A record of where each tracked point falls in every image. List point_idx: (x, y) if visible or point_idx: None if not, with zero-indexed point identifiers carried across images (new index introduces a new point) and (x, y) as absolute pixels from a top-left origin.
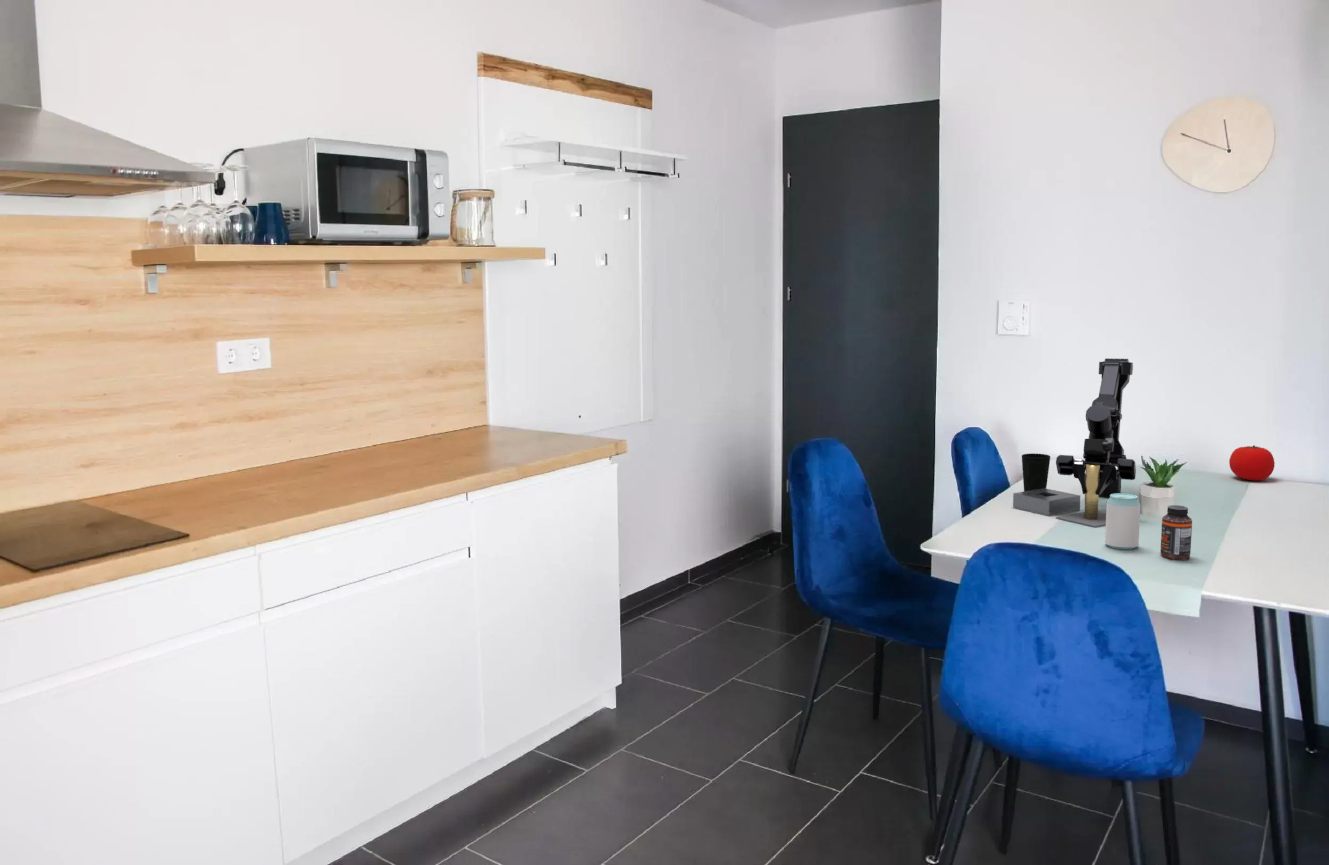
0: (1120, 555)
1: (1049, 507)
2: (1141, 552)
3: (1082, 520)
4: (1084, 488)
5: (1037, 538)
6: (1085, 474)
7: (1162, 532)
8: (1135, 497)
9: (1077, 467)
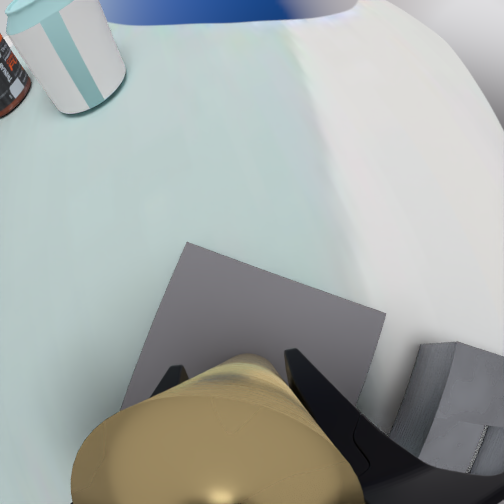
0: None
1: (439, 346)
2: None
3: (265, 316)
4: (291, 367)
5: (296, 46)
6: None
7: (10, 49)
8: (11, 8)
9: (471, 480)
